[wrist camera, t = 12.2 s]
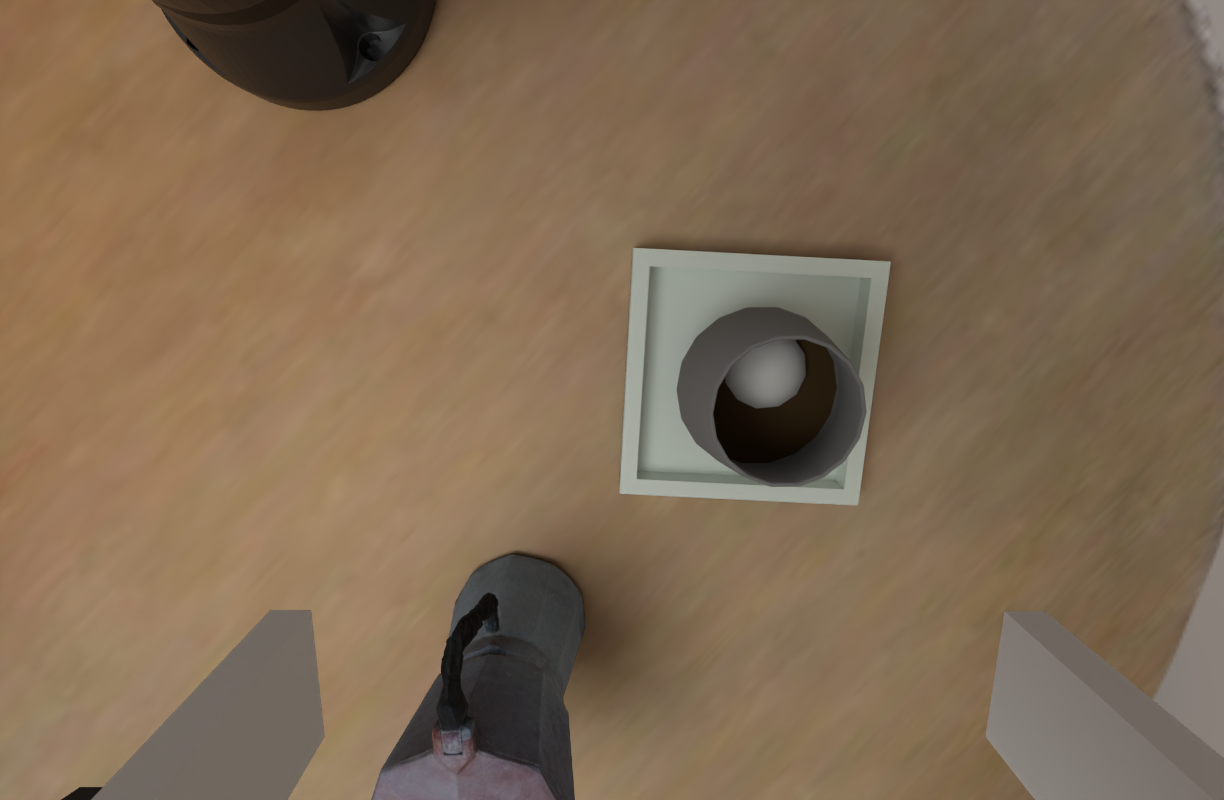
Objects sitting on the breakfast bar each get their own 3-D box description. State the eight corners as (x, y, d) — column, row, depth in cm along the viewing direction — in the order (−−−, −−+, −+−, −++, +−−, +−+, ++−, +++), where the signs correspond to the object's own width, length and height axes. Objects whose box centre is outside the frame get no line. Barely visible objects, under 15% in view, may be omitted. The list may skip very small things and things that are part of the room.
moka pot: (468, 712, 47) (364, 1035, 27) (429, 510, 44) (281, 709, 24) (600, 697, 46) (592, 1012, 27) (571, 493, 43) (538, 680, 24)
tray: (632, 249, 40) (633, 247, 38) (873, 261, 40) (890, 261, 38) (619, 480, 43) (619, 493, 41) (844, 491, 43) (857, 505, 41)
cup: (686, 290, 40) (711, 298, 30) (835, 315, 40) (907, 331, 30) (659, 438, 42) (674, 490, 32) (801, 461, 42) (859, 519, 32)
